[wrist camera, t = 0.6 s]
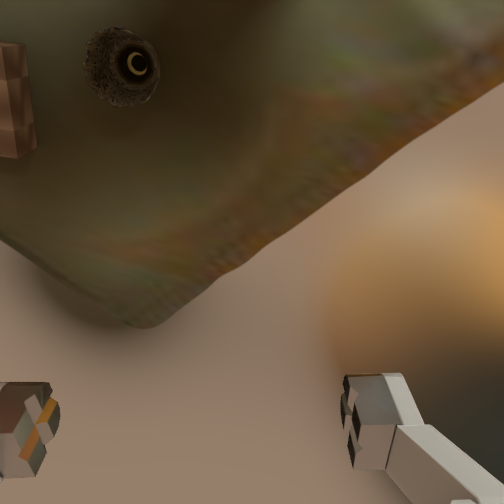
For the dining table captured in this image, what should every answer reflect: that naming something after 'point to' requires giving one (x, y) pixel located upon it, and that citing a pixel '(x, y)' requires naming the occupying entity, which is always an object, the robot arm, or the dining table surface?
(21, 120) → the socket block
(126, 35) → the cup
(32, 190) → the dining table surface
